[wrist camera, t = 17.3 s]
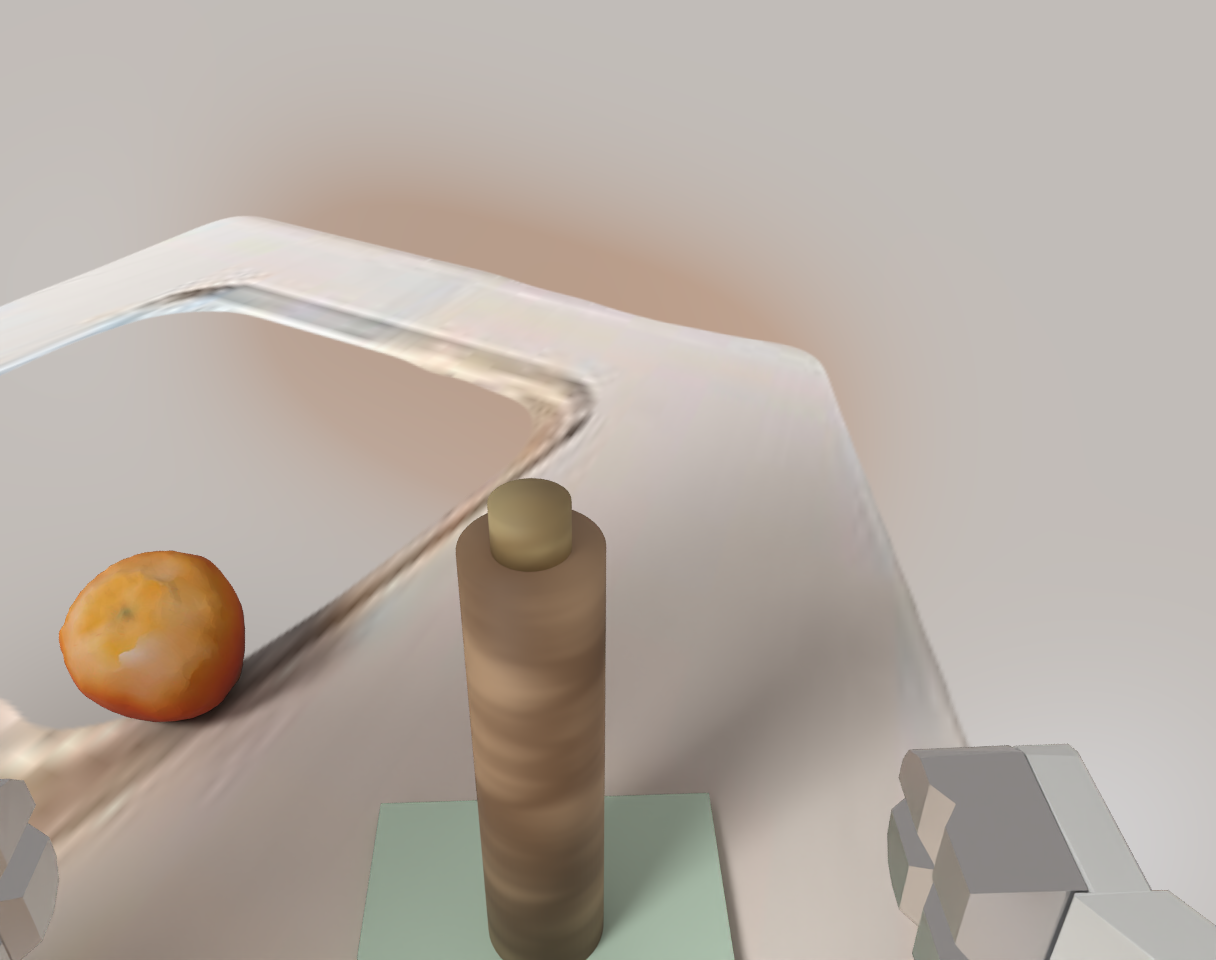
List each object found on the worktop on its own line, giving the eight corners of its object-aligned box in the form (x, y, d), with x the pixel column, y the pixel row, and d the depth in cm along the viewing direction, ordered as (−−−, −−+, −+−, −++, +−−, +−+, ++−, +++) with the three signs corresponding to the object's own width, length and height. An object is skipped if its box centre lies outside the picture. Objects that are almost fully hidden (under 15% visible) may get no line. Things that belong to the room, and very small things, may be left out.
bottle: (485, 977, 41) (446, 550, 30) (491, 875, 44) (457, 461, 34) (606, 973, 41) (610, 546, 30) (601, 871, 45) (603, 458, 34)
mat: (339, 1097, 38) (336, 1088, 37) (382, 812, 48) (380, 803, 47) (749, 1079, 38) (751, 1070, 38) (707, 802, 48) (708, 792, 48)
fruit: (304, 604, 57) (235, 544, 50) (247, 757, 54) (165, 716, 47) (166, 576, 59) (81, 514, 52) (103, 722, 56) (3, 678, 48)
